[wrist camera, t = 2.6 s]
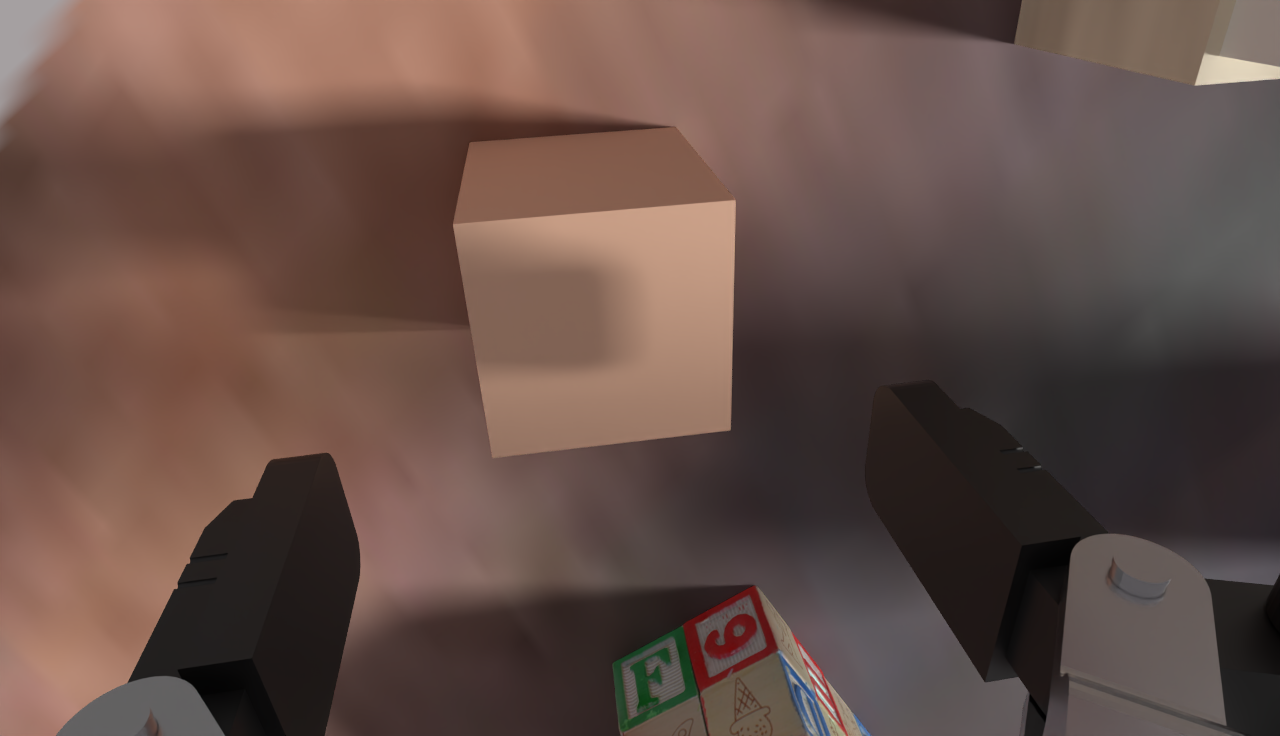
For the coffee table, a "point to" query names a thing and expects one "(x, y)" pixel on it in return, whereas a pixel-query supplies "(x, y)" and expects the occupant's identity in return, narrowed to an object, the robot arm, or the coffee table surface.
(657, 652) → the stack of blocks
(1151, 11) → the maple base block
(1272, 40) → the cream middle block
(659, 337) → the tan block
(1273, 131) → the coffee table surface
